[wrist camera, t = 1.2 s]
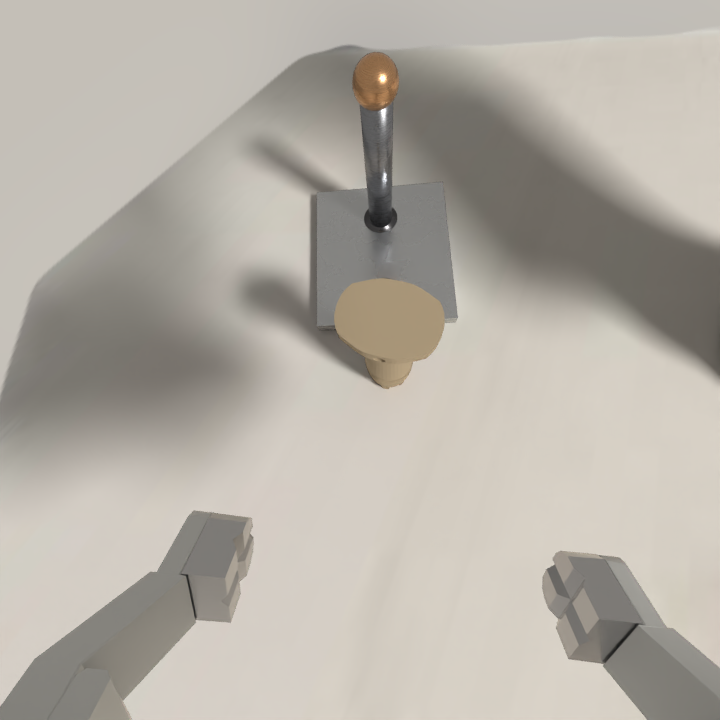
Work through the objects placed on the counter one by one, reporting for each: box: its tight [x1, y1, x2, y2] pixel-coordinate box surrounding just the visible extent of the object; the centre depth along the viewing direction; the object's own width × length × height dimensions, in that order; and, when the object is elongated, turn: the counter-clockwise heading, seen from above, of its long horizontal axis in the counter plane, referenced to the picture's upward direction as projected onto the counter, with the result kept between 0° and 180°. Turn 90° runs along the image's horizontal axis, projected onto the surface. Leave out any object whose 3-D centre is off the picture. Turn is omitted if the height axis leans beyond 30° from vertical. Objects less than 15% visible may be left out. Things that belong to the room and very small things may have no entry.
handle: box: [334, 278, 445, 389], centre depth 28 cm, size 5×6×15 cm
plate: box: [317, 182, 458, 330], centre depth 38 cm, size 14×16×1 cm
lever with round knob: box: [352, 52, 399, 227], centre depth 31 cm, size 3×3×16 cm
